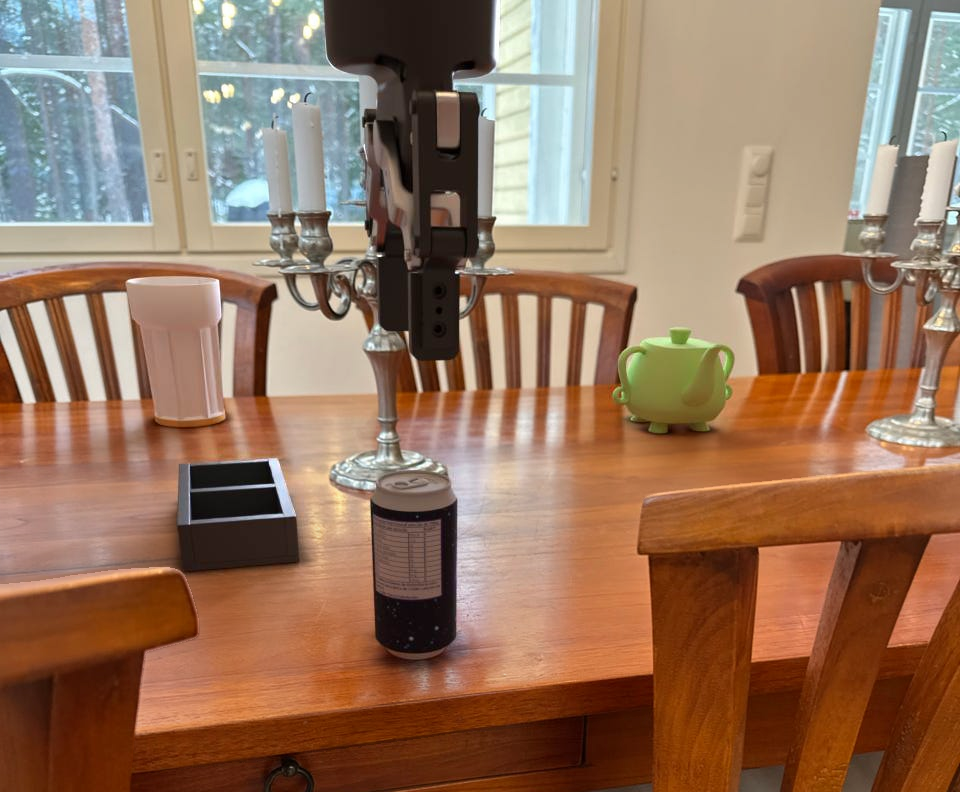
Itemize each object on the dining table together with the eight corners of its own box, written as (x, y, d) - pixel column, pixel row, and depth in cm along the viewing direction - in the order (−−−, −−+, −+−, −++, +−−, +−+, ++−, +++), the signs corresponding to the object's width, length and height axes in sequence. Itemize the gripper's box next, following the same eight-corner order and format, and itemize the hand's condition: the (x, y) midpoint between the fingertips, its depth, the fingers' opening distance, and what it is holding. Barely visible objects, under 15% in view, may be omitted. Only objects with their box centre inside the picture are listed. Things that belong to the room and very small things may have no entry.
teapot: (750, 426, 123) (766, 330, 117) (707, 445, 113) (721, 341, 107) (646, 407, 132) (655, 317, 126) (596, 424, 122) (605, 327, 116)
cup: (127, 424, 117) (104, 281, 109) (182, 406, 126) (164, 274, 118) (199, 433, 114) (181, 287, 106) (250, 414, 123) (237, 279, 115)
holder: (183, 572, 74) (177, 525, 72) (184, 503, 89) (178, 463, 87) (299, 561, 76) (296, 516, 74) (280, 497, 92) (277, 457, 90)
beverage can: (471, 651, 62) (474, 485, 57) (402, 672, 60) (398, 500, 54) (428, 621, 67) (427, 463, 61) (361, 640, 64) (353, 476, 58)
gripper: (304, -35, 42) (324, 324, 50) (343, -119, 30) (361, 373, 38) (457, -22, 44) (454, 322, 52) (553, -97, 32) (531, 369, 39)
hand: (415, 343), depth 45 cm, fingers open, 8 cm apart
